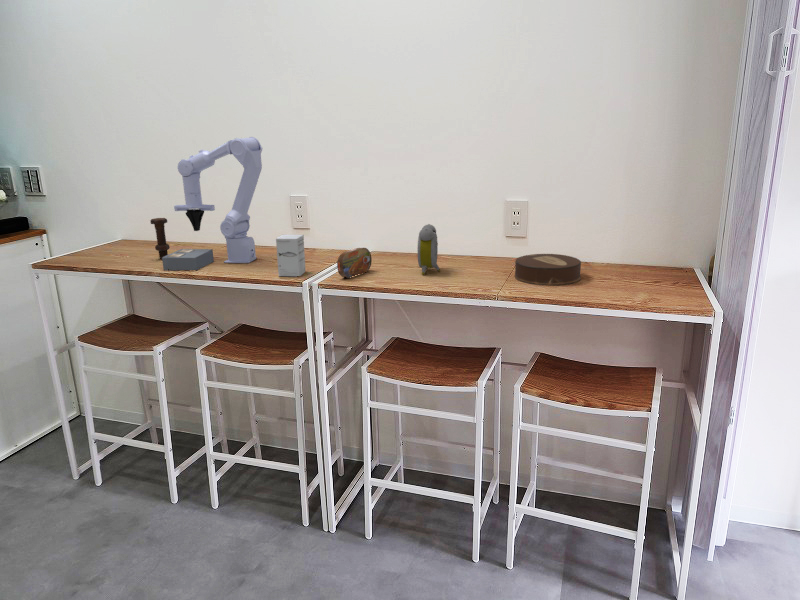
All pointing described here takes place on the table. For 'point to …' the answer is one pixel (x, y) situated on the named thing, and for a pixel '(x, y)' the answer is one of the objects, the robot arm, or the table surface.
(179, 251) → the tan wooden cube
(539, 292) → the table surface
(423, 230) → the grey upright figure
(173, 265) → the socket block
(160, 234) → the bolt
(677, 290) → the table surface
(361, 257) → the tin
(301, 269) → the supplement box
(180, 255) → the tan cube
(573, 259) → the container
